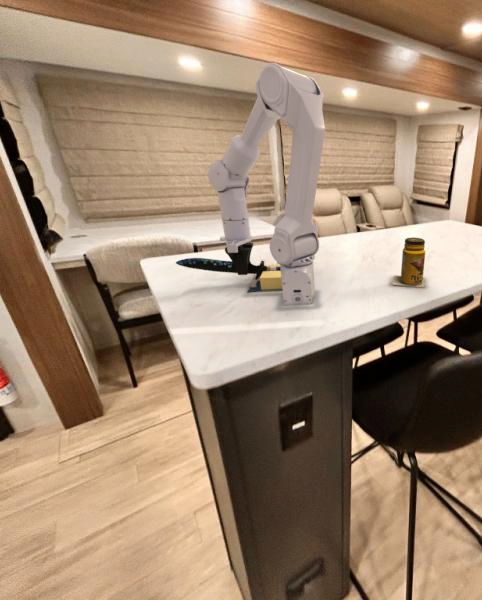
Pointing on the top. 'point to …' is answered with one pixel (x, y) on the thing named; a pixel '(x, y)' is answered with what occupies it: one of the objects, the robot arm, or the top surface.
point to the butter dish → (259, 287)
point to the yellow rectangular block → (271, 280)
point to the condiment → (412, 264)
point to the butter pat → (272, 265)
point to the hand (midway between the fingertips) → (243, 273)
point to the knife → (224, 266)
